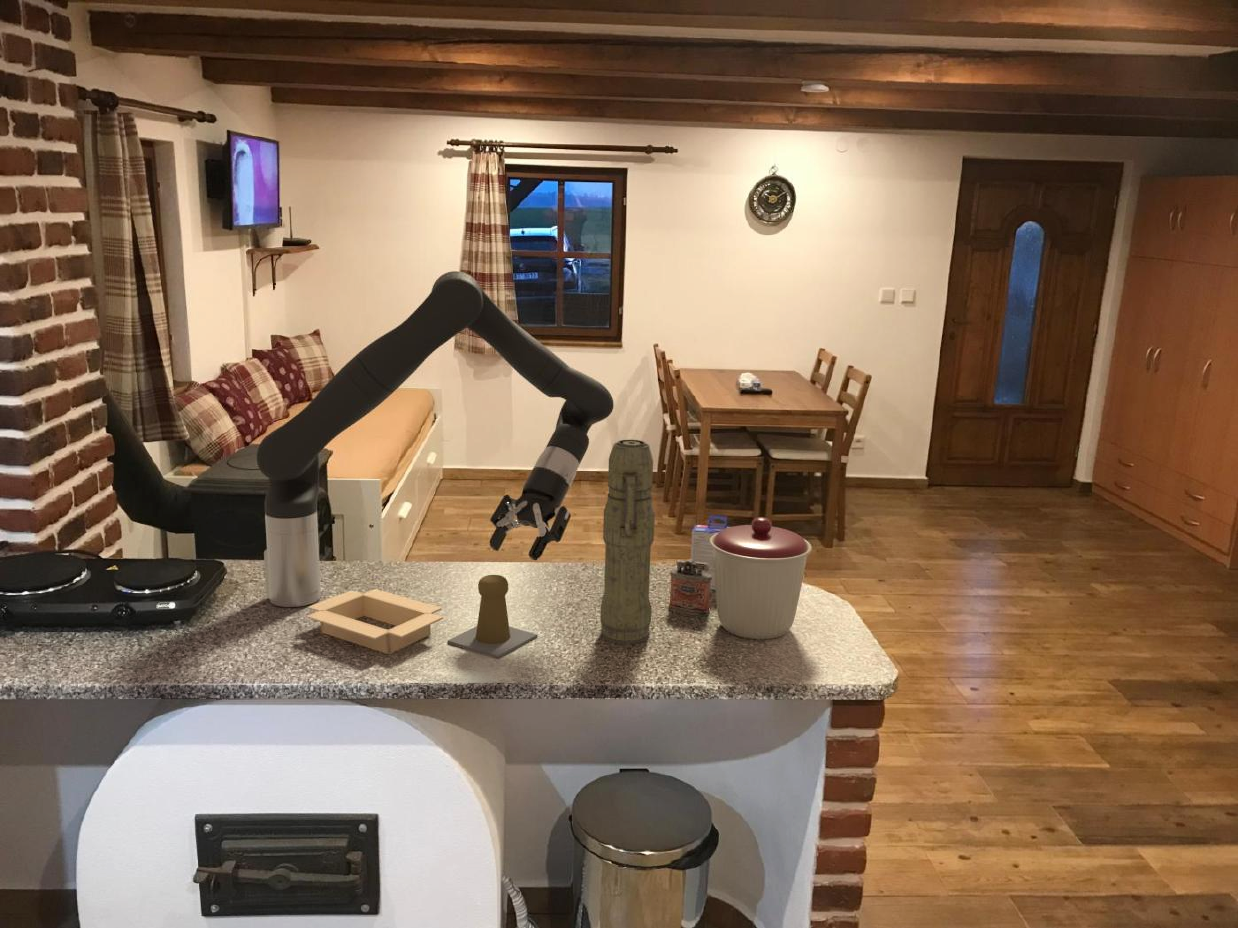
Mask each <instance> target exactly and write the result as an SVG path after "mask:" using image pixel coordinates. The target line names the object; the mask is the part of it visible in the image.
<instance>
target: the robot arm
mask: <svg viewBox="0 0 1238 928" xmlns="http://www.w3.org/2000/svg"><path fill="white" fill-rule="evenodd" d="M465 329H468V330H469V331H471V332H473V333H474V334H476V335H477V336H478V337H480V338H481V339H482V340H484V342H486V343H487V344H488V345H489V346H491V347H492V348H493V349H494V350H495V352H497V353H498V354H499V355H500V356H501V357H502V358H503V359H504V360H505V361H506V362H507V363H508V364H509V365H510V367H512V368H513V369H514V370H515V372H517V373H518V374H519V375H520V376H521V377H522V378H523V379H525V381H527V382H528V383H529V384H530V385H532V386H533V387H535V388H536V389H537V390H538V391H540V392H541V394H543V395H545V396H546V397H549V398H561V399H563V400H565V401H564V402H563V405H562V406H561V409H560V410H559V414H558V418H557V421H556V425H555V429H554V431H553V433H552V434H551V436H550V439H549V440H548V442H547V444H546V446H545V447H544V450H543V451H542V453H541V454H540V455H539V457H537V460H536V461H535V464H534V466H533V468H532V469H531V471H530V473H529V476H528V477H527V479H526V481H525V483H524V485H523V486H522V492H521V493H522V494H521V495H520V496H519V497H518V498H517V499H515V498H513V497H511V496H510V495H509V494H505V495H503V497H502V499H501V500H500V502H499V504H498V506H497V507H496V509H495V511H494V512H493V514H492V516H491V517H490V519H489V520H490V522H491V523H492V525H493V526H494V527H495V530H494V532H493V533H492V535H491V537H490V540H489V547H490V548H491V549H492V551H496V552H498V551H500V548H501V547H502V545H503V542H504V541H505V539H506V537H507V535H508V534H507V533H508V532H510V531H512V530H514V529H517V528H519V527H521V526H524V527H532V528H534V529H538V535H539V536H536V538H535V540H534V542H533V544H532V546H531V548H530V550H529V552H528V557H529V558H530V559H531V560H532V561H538V560H539V559H541V557H542V555H543V553H544V551H545V549H546V548H547V545H548V544H550V543H551V542H555V543H559V542H560V541H561V539H562V538H563V536H564V533H565V531H566V529H567V526H568V523H569V521H570V519H571V516H572V514H571V513H570V511H569V510H568V509H567V508H566V506H564V505H563V506H561V505H562V503H563V502H564V499H565V498H566V495H567V493H568V491H569V490H570V487H571V486H572V484H573V482H574V479H575V477H576V475H577V472H578V469H579V467H580V464H581V463H582V460H583V459H584V456H585V455H586V452H587V450H588V448H589V444H590V439H589V435H588V433H589V430H590V429H591V428H592V426H593V425H595V424H596V423H599V422H602V421H604V420H605V419H607V418H608V417H610V416H611V414H612V412H613V410H614V407H615V406H614V405H615V404H614V398H613V397H612V393H610V391H609V390H608V389H607V387H605V385H604V384H602V383H601V382H599V381H598V380H596V379H595V378H593V377H591V376H589V375H587V374H585V373H584V372H582V371H580V370H577V369H575V368H573V367H571V366H569V365H568V364H567V363H566V362H565V361H563V360H562V359H561V358H560V357H558V356H557V355H556V354H555V353H554V352H553V351H551V350H550V349H549V348H548V347H546V346H545V345H544V344H542V342H540V341H539V340H538V339H536V338H535V337H533V336H532V335H531V334H530V333H528V332H527V331H526V330H525V329H524V328H522V327H521V326H519V324H518V323H516V322H515V321H514V320H513V319H512V318H511V317H509V316H508V315H507V314H506V313H505V312H504V311H503V310H502V309H501V308H500V307H499V306H498V305H497V304H496V303H495V302H494V301H493V300H492V299H491V297H489V296H488V294H487V293H486V292H485V291H484V290H483V289H482V287H481V286H480V284H479V283H478V281H477V280H476V279H475V278H474V277H473V276H472V275H470V274H468V273H465V272H464V271H456V270H455V271H448V272H445V273H443V274H442V275H440V276H439V277H437V279H436V280H435V281H434V283H433V286H432V288H431V291H430V293H429V294H428V296H427V297H426V298H425V299H424V300H423V301H422V303H421V304H419V306H418V307H417V308H416V309H415V310H414V311H413V312H412V313H411V314H410V315H409V316H408V317H407V318H406V319H405V320H404V321H403V322H401V324H399V325H397V326H396V327H395V328H393V329H392V330H389V331H388V332H386V333H384V334H383V335H381V336H379V337H378V338H377V339H375V340H373V341H372V342H371V343H370V344H368V345H367V346H365V347H364V348H363V349H361V350H360V351H359V352H358V353H357V354H356V355H355V356H353V357H352V358H351V359H350V360H349V361H348V362H347V363H346V364H345V365H343V367H341V369H340V370H339V371H338V372H337V373H336V374H334V376H333V377H332V378H331V379H330V380H329V381H328V382H327V383H326V384H325V385H324V386H323V387H322V388H321V389H320V390H319V392H318V393H317V394H316V395H315V397H314V398H313V399H312V400H311V401H310V403H308V404H307V405H306V406H305V408H303V409H302V410H301V411H300V412H298V413H297V414H296V415H295V416H294V417H292V418H290V420H288V421H287V422H285V423H284V424H282V425H280V427H277V428H276V429H274V430H273V431H271V432H270V433H268V434H267V435H266V436H264V438H263V439H262V440H261V441H260V443H259V445H258V448H257V451H256V464H257V467H258V469H259V471H260V472H261V473H262V475H263V476H265V477H266V478H268V487H267V491H266V494H265V498H264V514H265V515H264V521H265V533H266V535H265V536H266V549H265V550H264V552H263V558H264V559H263V560H264V562H263V563H264V575H265V576H264V579H265V594H266V595H265V596H266V599H268V600H269V603H271V604H272V605H273V606H277V607H282V608H283V607H284V608H295V607H296V608H298V607H304V606H308V605H309V606H310V605H311V604H312V605H313V604H314V603H316V602H318V601H319V600H320V599H321V573H320V572H321V571H320V570H321V569H320V549H319V530H318V529H319V525H318V498H319V492H320V471H319V470H320V466H319V465H320V462H319V461H320V460H319V458H320V457H319V453H321V451H322V450H323V449H324V448H325V447H327V445H328V444H330V443H331V442H332V441H333V440H334V439H335V438H336V437H337V436H338V435H340V434H341V433H343V432H344V431H345V430H347V429H349V428H350V427H351V426H353V425H354V424H356V423H357V422H359V421H360V420H362V419H363V418H364V417H366V416H367V415H368V414H370V413H371V412H373V410H374V409H376V408H377V407H378V406H380V405H381V404H382V403H383V402H385V400H387V399H388V398H389V397H390V396H391V395H392V394H393V393H394V392H395V391H396V390H397V389H399V387H401V386H402V384H404V383H405V382H406V381H407V380H408V379H409V378H410V377H411V376H412V375H413V374H414V372H416V371H417V369H419V367H420V366H421V365H422V364H423V363H424V362H425V361H426V360H427V359H428V358H429V356H430V355H432V354H433V353H434V352H435V351H436V350H437V349H439V348H440V347H442V346H444V344H446V343H447V342H448V341H449V340H451V339H452V338H453V337H455V336H457V334H459V333H461V332H462V331H463V330H465ZM515 517H516V519H515ZM553 518H554V521H553V523H552V525H551V527H550V522H549V521H551V520H552V519H553Z"/></svg>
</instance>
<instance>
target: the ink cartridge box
mask: <svg viewBox="0 0 1238 928" xmlns="http://www.w3.org/2000/svg"><path fill="white" fill-rule="evenodd" d="M714 520H720V521H723V523H720V522H713V521H714ZM727 520H728V516H723V515H713V514H711V515H709V519H708V525H702V524H695V525H694V527H693V529H692V531H691V541H690V542H691V543H690V559H692V560H694V562H703V563H708V564H709V568H708V571H704V570H702V572H703V573H707V574H710V575H712V580H711V582H710V590H712V591H715V574H714V557H713V548H712V546H711V545H710V538H711V537H712V536H713V535H714V534H716V533H718V532H720V531H722V530H724V529H726V528H730V527H731V526H727V525H728V521H727ZM696 571H697V569H696Z"/></svg>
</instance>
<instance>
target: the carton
mask: <svg viewBox="0 0 1238 928" xmlns="http://www.w3.org/2000/svg"><path fill="white" fill-rule="evenodd" d="M307 609H308V610H311V611H315V612H313V613H311V614H308V615H306V617H305V618H307V619H310V620H312V621H316V622H320V633H322V634H326V635H328V636H331V637H335V638H338V639H340V640H344V641H347V642H349V643H353V644H356V645H359V646H363V647H366V648H368V649H371V650H374V651H377V650H378V652H380V653H383V654H386V655H390V654H393V653H395V652H397V651H399V650H401V649H403V648H405V647H407V646H410V645H411V644H414V643H415V642H417V641H419V640H422V639H425V638H426V637H428V636H431V635H432V633H431V625H433V624H435V623H437V622H439V621H442V620H443V619H444V616H441V615H438V614H436V613H438V612H439V611H442V609H443V608H442V607H440V606H436V605H432V604H430V603H426V602H422V601H419V600H415V599H411V598H408V597H404V596H401V595H397V594H395V593H391V592H387V591H383V590H380V589H376V588H374V589H372V590H369V591H367V592H364V593H363V592H359V591H356V590H353V589H352V590H348V591H346V592H343V593H340V594H339V595H335V596H333V597H330V598H327V599H325V600H322V601H319V602H317V603H315V604H314V603H313V604H312V605H309V606H308V608H307ZM362 617H367V618H370V619H373V620H377V621H379V622H383V623H386V624H389V625H393V627H392V628H389V629H386V628H384V627H380V626H377V625H373V624H370V623H367V622H364V621H361V620H358V619H361V618H362Z"/></svg>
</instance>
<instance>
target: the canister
mask: <svg viewBox="0 0 1238 928" xmlns="http://www.w3.org/2000/svg"><path fill="white" fill-rule="evenodd" d="M729 527H730V528H726V529H724V530H722V531H720V532H718V533H716V534H714V535H713V536H712V537H711V538H710V545H711V546H712V548H713V557H714V574H715V590H714V591H715V601H716V612H717V616H718V620H719V623H720V625H721V626H722V627H723V629H725V631H728V632H729V633H731V634H732V635H735V636H738V637H740V638H745V639H751V640H752V639H753V640H771V639H775V638H779V637H781V636H784V635H785V634H786V633H787V632H789V631H790V629H791V628H792V626H793V623H794V621H795V618H796V614H797V609H798V605H799V600H800V594H801V591H802V590H801V589H802V584H803V580H804V575H805V574H804V573H805V570H806V564H807V563H806V562H807V558H808V556H809V555H810V554H811V552H812V549H813V546H812V544H811V543H810V542H809V541H807V540H806V539H805V538H804V537H803V536H801V535H799V534H798V533H795V532H794V531H791V530H789V529H785V528H781V527H777V526H772V522H771V520H770V519H768V518H767V517H762V516H760V517H756V518H753V520H752V521H751V524H744V525H736V526H735V525H734V526H729Z"/></svg>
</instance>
